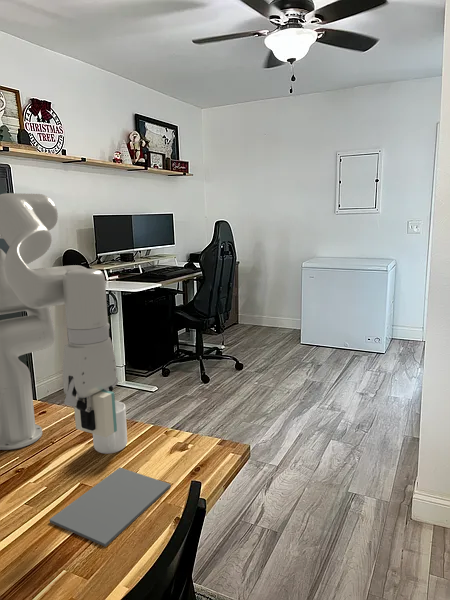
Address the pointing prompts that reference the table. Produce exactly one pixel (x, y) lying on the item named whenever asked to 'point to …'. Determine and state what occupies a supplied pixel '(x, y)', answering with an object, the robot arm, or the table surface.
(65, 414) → the table surface
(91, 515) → the mat
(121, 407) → the mug
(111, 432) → the cream and teal block
